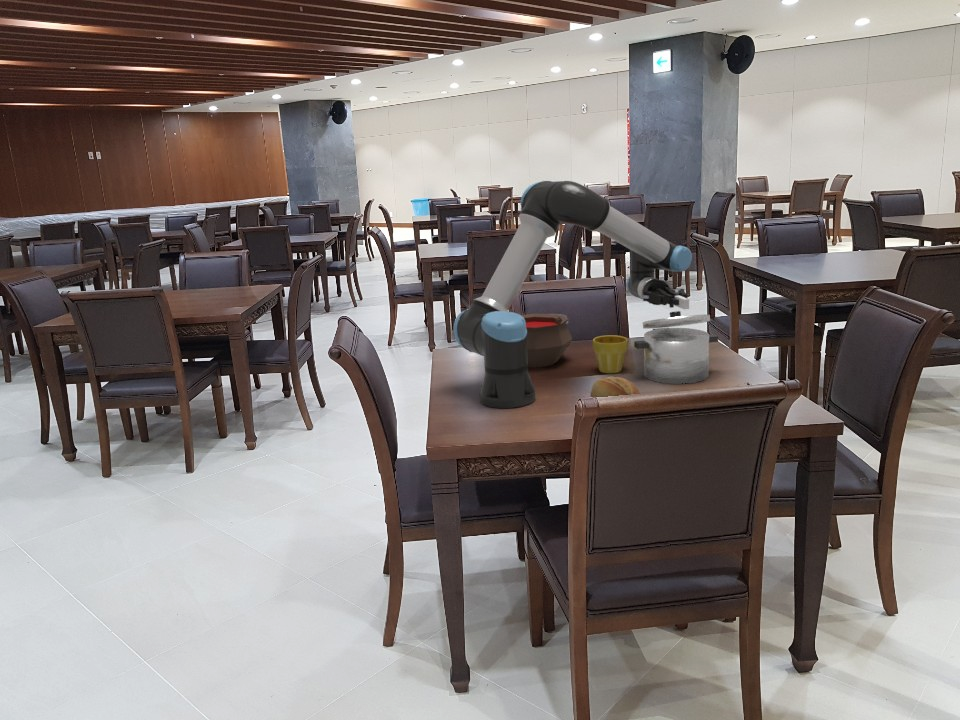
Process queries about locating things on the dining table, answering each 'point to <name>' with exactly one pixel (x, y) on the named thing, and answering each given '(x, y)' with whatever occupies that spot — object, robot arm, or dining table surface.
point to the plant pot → (610, 352)
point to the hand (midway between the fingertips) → (686, 304)
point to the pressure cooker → (676, 354)
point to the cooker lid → (676, 320)
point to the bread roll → (613, 387)
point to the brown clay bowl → (546, 338)
